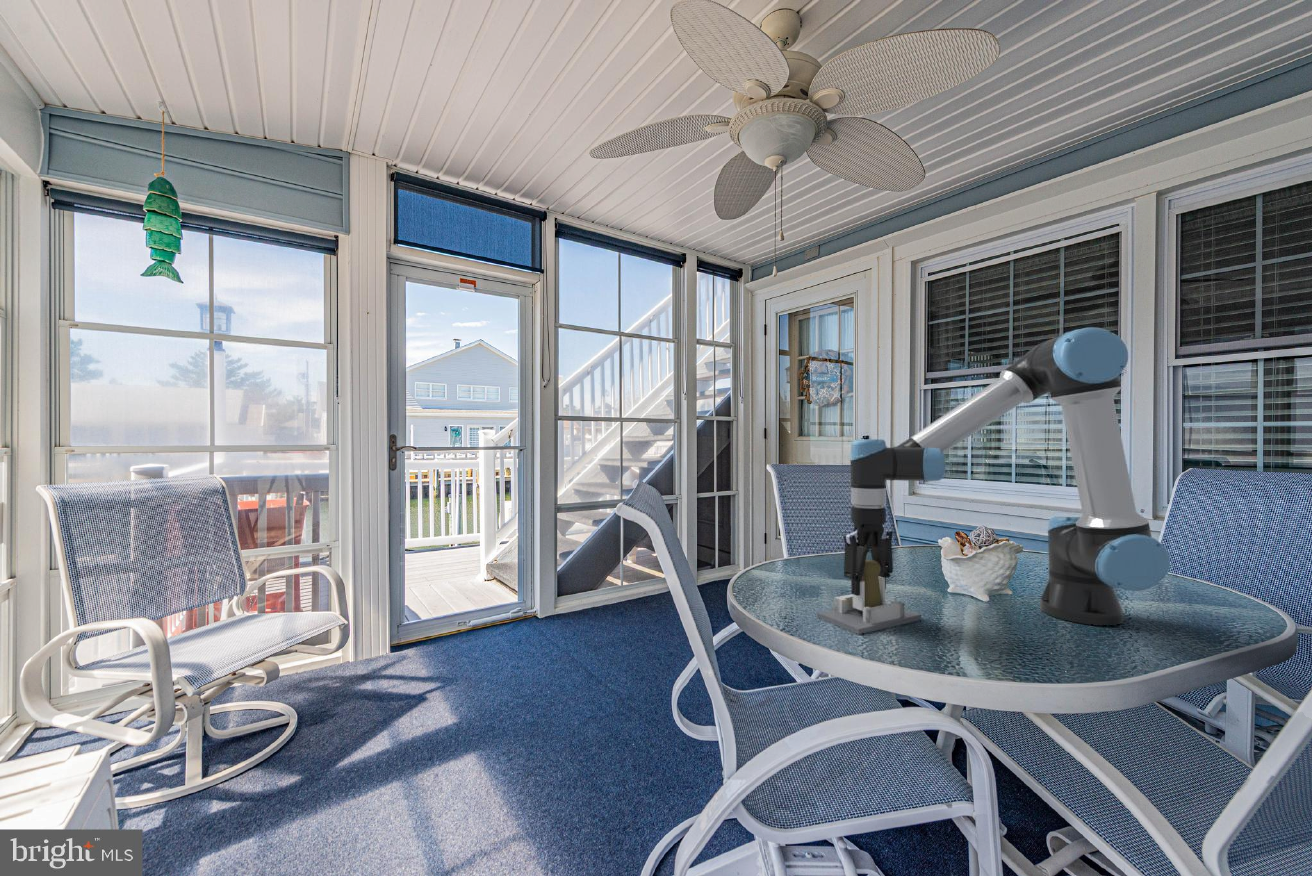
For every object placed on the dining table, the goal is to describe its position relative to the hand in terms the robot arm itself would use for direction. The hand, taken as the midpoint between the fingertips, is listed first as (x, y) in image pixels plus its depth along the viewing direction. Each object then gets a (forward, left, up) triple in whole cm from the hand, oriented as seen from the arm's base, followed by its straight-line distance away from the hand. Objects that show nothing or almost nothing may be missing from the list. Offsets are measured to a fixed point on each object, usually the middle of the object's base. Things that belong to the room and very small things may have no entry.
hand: (869, 606), depth 119 cm
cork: (0, 0, -1) cm, 1 cm away
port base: (0, 0, -3) cm, 3 cm away
